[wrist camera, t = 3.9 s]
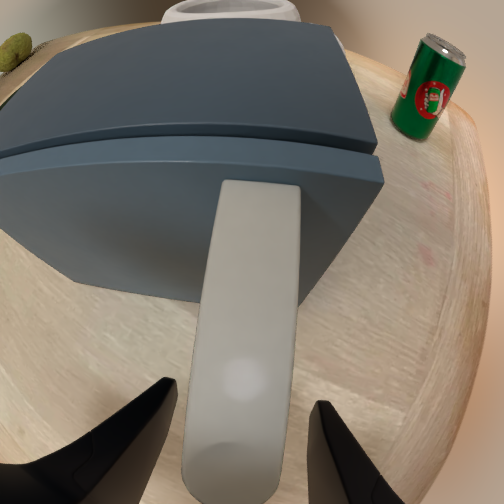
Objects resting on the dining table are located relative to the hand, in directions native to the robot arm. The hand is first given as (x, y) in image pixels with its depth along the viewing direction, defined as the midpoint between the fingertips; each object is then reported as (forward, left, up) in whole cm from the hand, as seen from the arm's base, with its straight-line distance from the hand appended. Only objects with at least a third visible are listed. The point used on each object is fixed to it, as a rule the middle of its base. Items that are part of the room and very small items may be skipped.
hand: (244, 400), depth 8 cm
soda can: (+29, +9, -7) cm, 31 cm away
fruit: (-19, +116, -7) cm, 118 cm away
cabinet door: (-3, +5, -7) cm, 9 cm away
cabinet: (+3, +11, -7) cm, 14 cm away
